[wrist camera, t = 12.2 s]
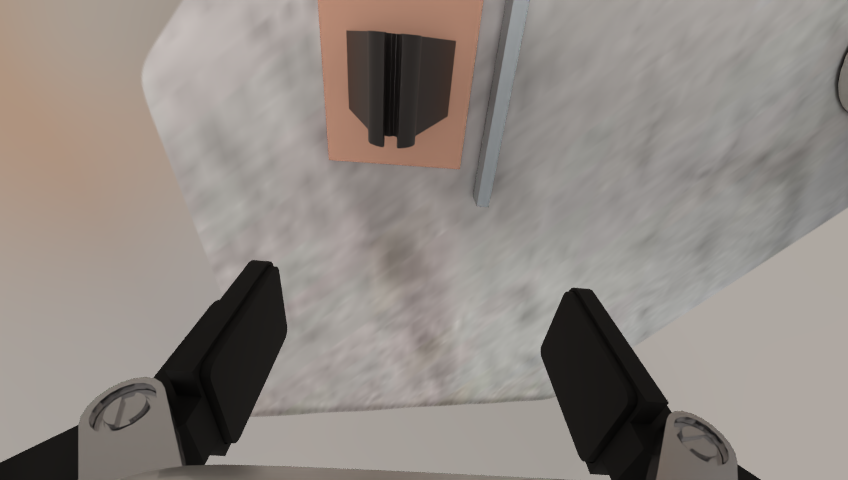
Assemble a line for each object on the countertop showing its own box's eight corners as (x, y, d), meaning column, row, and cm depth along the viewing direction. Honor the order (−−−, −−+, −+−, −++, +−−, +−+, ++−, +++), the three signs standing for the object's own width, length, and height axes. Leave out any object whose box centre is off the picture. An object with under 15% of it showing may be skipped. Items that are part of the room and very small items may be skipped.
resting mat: (487, -34, 25) (488, -35, 25) (459, 167, 34) (459, 169, 33) (315, -52, 25) (314, -54, 24) (330, 158, 33) (329, 159, 32)
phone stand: (456, 41, 27) (480, 40, 17) (447, 116, 31) (463, 154, 20) (347, 29, 27) (304, 22, 17) (349, 107, 30) (314, 142, 20)
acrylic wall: (536, -82, 24) (548, -94, 22) (484, 196, 35) (488, 207, 33) (520, -84, 24) (530, -96, 22) (472, 196, 35) (476, 206, 33)
